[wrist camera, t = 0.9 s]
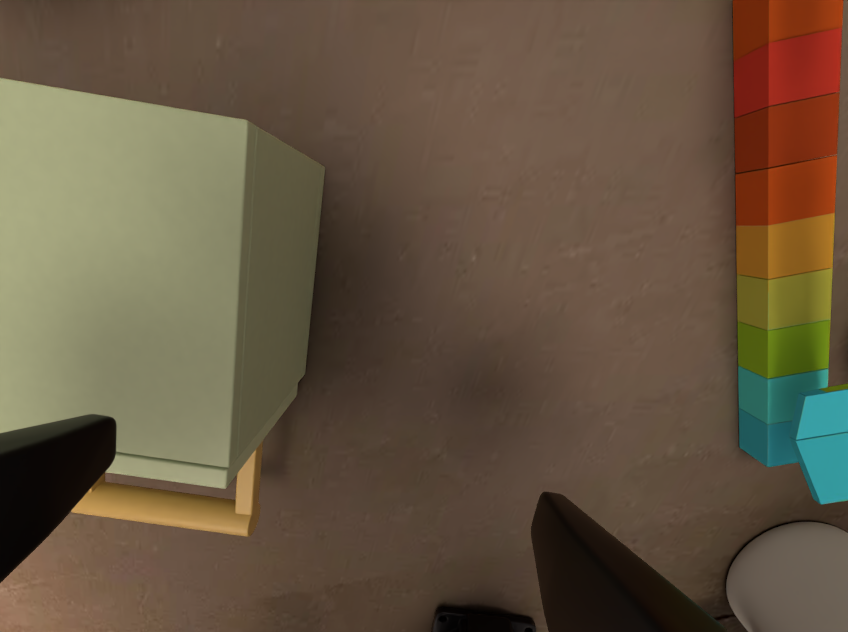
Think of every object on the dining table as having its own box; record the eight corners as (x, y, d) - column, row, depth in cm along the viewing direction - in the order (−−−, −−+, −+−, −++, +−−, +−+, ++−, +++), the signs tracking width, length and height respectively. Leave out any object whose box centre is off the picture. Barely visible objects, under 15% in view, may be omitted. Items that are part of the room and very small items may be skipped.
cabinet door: (289, 478, 22) (219, 607, 15) (9, 438, 22) (-211, 551, 14) (298, 382, 21) (227, 470, 14) (1, 337, 21) (-247, 402, 13)
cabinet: (305, 374, 22) (229, 468, 13) (10, 329, 21) (-265, 398, 13) (325, 166, 19) (247, 119, 11) (-8, 110, 19) (-363, 14, 10)
